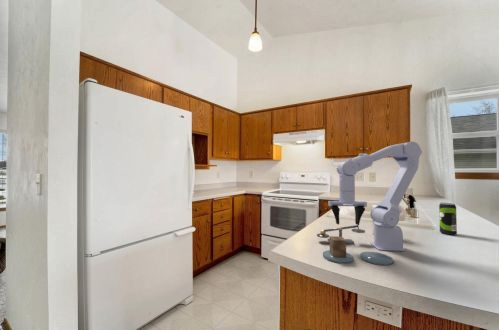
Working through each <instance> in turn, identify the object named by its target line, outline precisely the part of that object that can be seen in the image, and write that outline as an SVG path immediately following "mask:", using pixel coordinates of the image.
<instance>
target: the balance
mask: <svg viewBox="0 0 499 330" xmlns="http://www.w3.org/2000/svg"><path fill="white" fill-rule="evenodd" d="M359 226H360V225H357V224H355V225H348V226H338V227H335V228H327V229H321V230H320V231H319V233H317V234H316V236H317V237H318V238H322V239H327V242H328V243H329V244H330V235H329V234H327V232H333V231H338V237H343V230H348V229H351V232H353V233H357V234H365V233H366V230H365V229H361V228H359ZM344 239H345V238H344ZM345 240H346V245H355V241H354V240H353V239H350V238H346V239H345Z"/></svg>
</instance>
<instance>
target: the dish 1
mask: <svg viewBox="0 0 499 330" xmlns="http://www.w3.org/2000/svg"><path fill="white" fill-rule="evenodd" d="M322 256H323V257H322V258H324V259H325V260H327V261H330V262H332V263H336V264H337V263H338V264H351V263H352V262H353V261H354V257H353V255H352V254H350V253H348V252H346V258H336V257H332V255H331V254H330V249H328V250H324V251H323V252H322Z"/></svg>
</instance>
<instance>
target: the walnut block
mask: <svg viewBox="0 0 499 330" xmlns="http://www.w3.org/2000/svg"><path fill="white" fill-rule="evenodd" d="M329 239H330V243H329V250H330V254H331V255H332V257H336V258H346V253H347V244H346V240H345V238H344V237H343V236H342V237H339V236H337V235H335V236H334V235H333V236H332V235H329Z"/></svg>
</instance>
